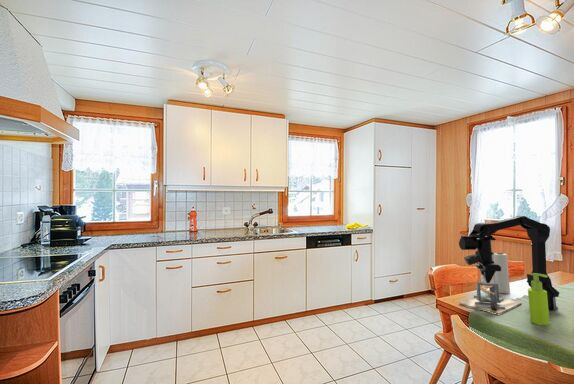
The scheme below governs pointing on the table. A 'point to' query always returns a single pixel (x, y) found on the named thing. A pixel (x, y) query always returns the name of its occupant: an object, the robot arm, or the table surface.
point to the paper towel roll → (501, 272)
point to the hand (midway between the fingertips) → (486, 282)
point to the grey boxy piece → (484, 283)
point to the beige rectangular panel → (501, 307)
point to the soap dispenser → (538, 301)
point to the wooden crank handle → (492, 295)
